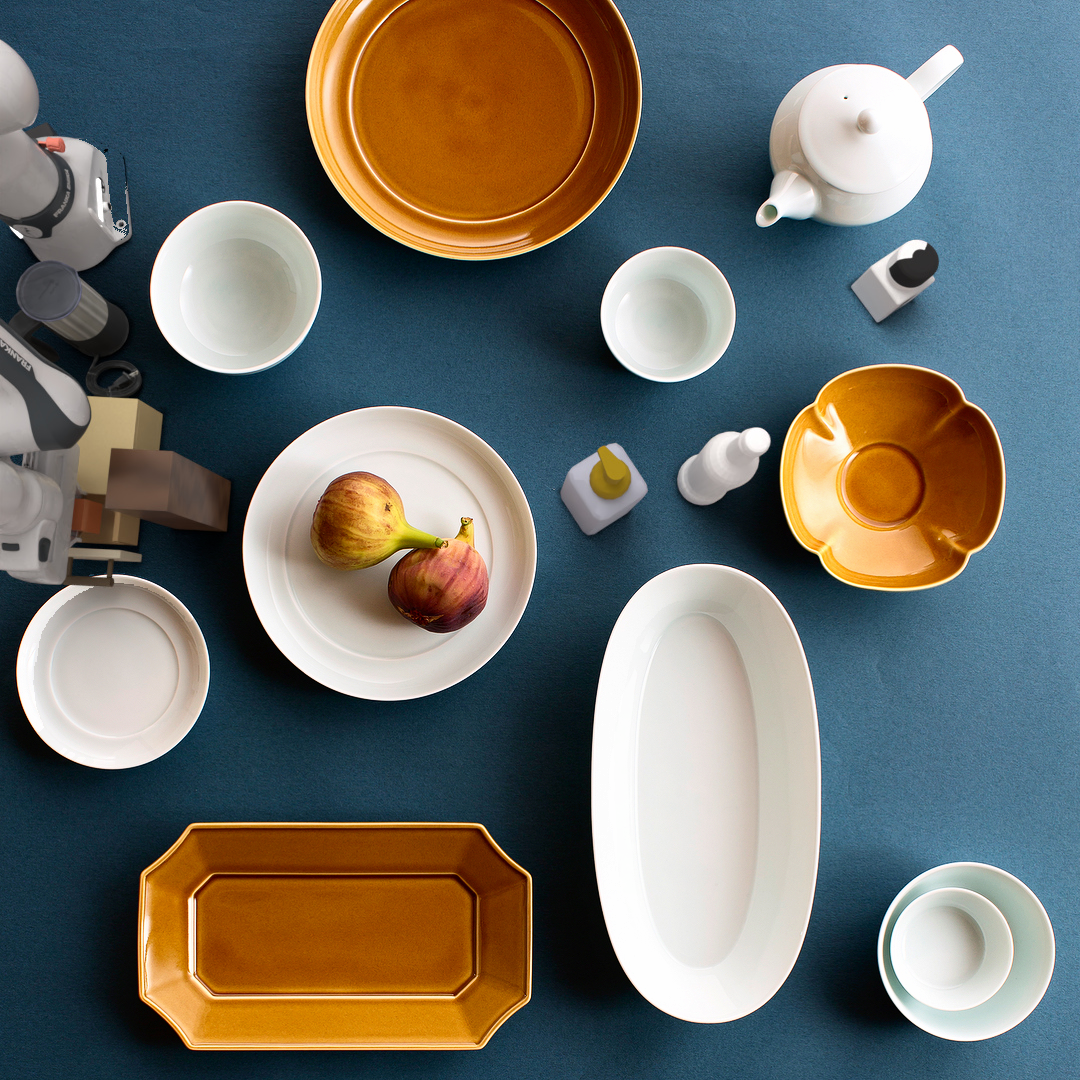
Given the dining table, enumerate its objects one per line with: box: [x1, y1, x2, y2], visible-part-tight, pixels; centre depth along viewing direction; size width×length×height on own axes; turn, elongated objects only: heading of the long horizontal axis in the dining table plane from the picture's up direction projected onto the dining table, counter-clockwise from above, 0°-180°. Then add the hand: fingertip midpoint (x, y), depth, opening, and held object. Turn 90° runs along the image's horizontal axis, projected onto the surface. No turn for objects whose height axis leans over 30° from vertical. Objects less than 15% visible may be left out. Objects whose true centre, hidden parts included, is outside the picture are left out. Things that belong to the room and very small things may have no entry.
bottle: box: [676, 427, 771, 506], centre depth 114 cm, size 8×8×30 cm
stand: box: [105, 448, 232, 533], centre depth 114 cm, size 8×8×22 cm
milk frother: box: [7, 260, 143, 398], centre depth 119 cm, size 14×16×15 cm
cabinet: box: [77, 395, 164, 495], centre depth 121 cm, size 15×13×9 cm
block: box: [71, 498, 103, 534], centre depth 114 cm, size 4×4×5 cm
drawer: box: [62, 494, 143, 588], centre depth 119 cm, size 18×11×7 cm, turn 177°
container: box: [850, 239, 940, 323], centre depth 127 cm, size 8×8×13 cm
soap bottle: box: [559, 442, 649, 536], centre depth 115 cm, size 9×9×25 cm
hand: (79, 517), depth 115 cm, fingers closed on block, 4 cm apart
